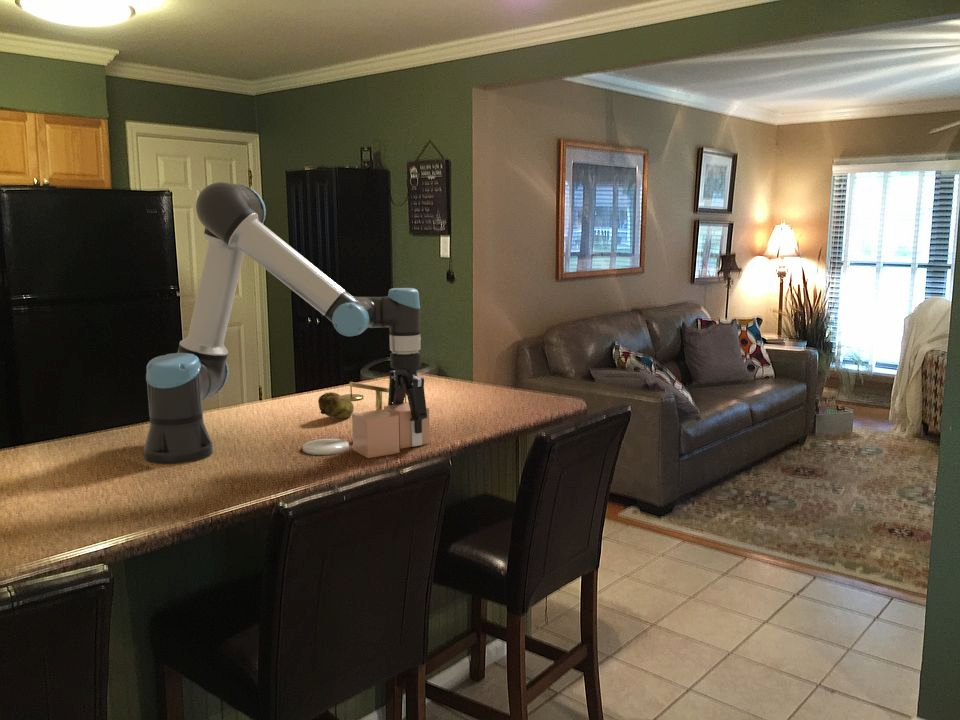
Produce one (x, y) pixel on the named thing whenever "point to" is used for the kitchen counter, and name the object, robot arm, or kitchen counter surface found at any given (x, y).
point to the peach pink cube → (408, 424)
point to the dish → (325, 446)
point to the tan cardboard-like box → (375, 433)
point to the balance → (359, 397)
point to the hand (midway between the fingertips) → (407, 441)
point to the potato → (335, 406)
